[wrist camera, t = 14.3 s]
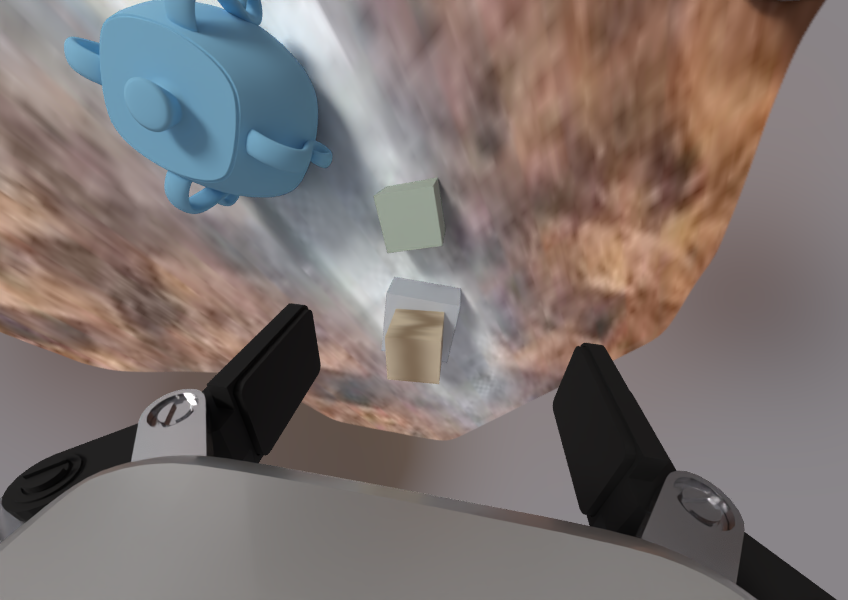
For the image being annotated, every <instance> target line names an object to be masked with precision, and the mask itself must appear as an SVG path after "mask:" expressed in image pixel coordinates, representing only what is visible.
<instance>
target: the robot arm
mask: <svg viewBox="0 0 848 600" xmlns="http://www.w3.org/2000/svg"><path fill="white" fill-rule="evenodd" d="M778 1H799V0H778ZM320 366H321V365H320V358H319V351H318V345H317V339H316V332H315V326H314V320H313V314H312V311H311V310H308V307H307V306H306V305H299V304H292V303H291V304H288V305H287V306H286V307H285V308H284V309H283V310H282V311H281V312H280V313H279V314H278V315H277V316H276V317H275V318H274V319H273V320H272V321H271V322H270V323H269V324H268V325H267V326H266V327H265V328H264V329H263V330H262V331H261V332H260V333H259V334H258V335H256V336H255V337H254V338H253V339H252V340H251V341H250V342H249V343H248V344H247V345H246V346H245V347H244V348H243V349H242V350H241V351H240V352H239V353H238V354H237V355H236V356H235V357H234V358H233V359H232V360H231V361H230V362H229V363H228V364H227V365H226V366H225V367H224V368H223V369H222V370H221V371H220V372H219V373H218V374H217V375H216V376H215V377H214V378H213V379H212V380H211V381H210V382H209V383H208V384H207V387H206V388H205V389H204V390H203V391H202V392H201V391H199V390H195V389H184V390H179V391H174V392H172V393H169V394H167V395H165V396H163V397H161V398H159V399H157V400H156V401H154V402H153V403H152V404H151V405H149V406H148V407H147V408H146V410H145V411H144V412H143V413H142V415H141V417H140V419H139V423H138V424H135V425H133V426H130V427H127V428H125V429H122V430H119V431H117V432H114V433H111V434H109V435H106V436H103V437H100V438H98V439H95V440H92V441H90V442H87V443H85V444H82V445H79V446H76V447H74V448H71V449H68V450H66V451H63V452H61V453H58V454H55V455H53V456H51V457H49V458H46V459H44V460H42V461H40V462H39V463H37V464H35V465H34V466H32V467H30V468H29V469H28V470H26V471H25V472H24V473H22V474H21V475H20V476H19V477H17V478H16V479H15V480H14V482H13V483H12V484H11V485H10V486H9V487H8V488H7V490H6V491H5V493H4V495H3V497H1V498H0V600H836V599H835V598H834V597H832V596H831V595H830V594H828V593H827V592H825V591H824V590H823V589H821V588H820V587H819V586H817V585H816V584H815V583H813V582H812V581H811V580H809V579H808V578H806V577H805V576H804V575H802V574H801V573H800V572H798V571H797V570H796V569H794V568H793V567H791V566H790V565H789V564H787V563H786V562H785V561H783V560H782V559H780V558H779V557H778V556H777V555H775V554H774V553H772V552H771V551H770V550H768V549H767V548H766V547H764V546H763V545H762V544H760V543H759V542H757V541H756V540H755V539H753V538H752V537H751V536H749V535H748V534H747V533H745V532H744V521H743V519H742V517H741V514H740V512H739V510H738V509H737V508H736V506H735V505H734V504H733V503H732V501H731V500H730V499H729V498H728V497H727V496H726V495H725V494H724V493H723V492H722V491H721V490H720V489H719V488H717V487H716V486H715V485H713V484H712V483H710V482H709V481H707V480H705V479H703V478H702V477H700V476H698V475H695V474H693V473H690V472H687V471H676V469H675V467H674V466H673V464H672V462H671V460H670V459H669V457H668V455H667V453H666V452H665V450H664V448H663V446H662V445H661V443H660V441H659V440H658V438H657V436H656V435H655V432H654V431H653V429H652V427H651V426H650V424H649V422H648V420H647V419H646V417H645V415H644V413H643V412H642V410H641V408H640V406H639V405H638V403H637V401H636V400H635V398H634V396H633V394H632V393H631V392H630V391H629V389H628V387H627V385H626V383H625V382H624V380H623V378H622V376H621V375H620V373H619V371H618V369H617V368H616V366H615V364H614V362H613V361H612V359H611V357H610V355H609V354H608V352H607V350H606V348H605V347H604V346H603V345H598V344H590V343H583V344H582V345H581V347H580V346H577V347H576V348H575V350H574V352H573V355H572V357H571V359H570V362H569V364H568V367H567V369H566V371H565V374H564V376H563V379H562V381H561V383H560V386H559V388H558V391H557V393H556V396H555V398H554V401H553V411H554V415H555V419H556V423H557V426H558V430H559V434H560V437H561V441H562V445H563V448H564V452H565V455H566V459H567V463H568V467H569V471H570V474H571V478H572V482H573V485H574V489H575V493H576V496H577V500H578V504H579V508H580V510H581V512H582V513H583V514H585V515H587V518H588V522H589V525H590V526H586V525H582V524H577V523H572V522H567V521H562V520H558V519H553V518H548V517H543V516H538V515H533V514H527V513H523V512H517V511H512V510H507V509H502V508H496V507H492V506H486V505H481V504H476V503H470V502H465V501H461V500H455V499H450V498H444V497H439V496H434V495H429V494H423V493H418V492H413V491H407V490H402V489H397V488H391V487H386V486H380V485H375V484H370V483H365V482H359V481H354V480H348V479H343V478H337V477H331V476H326V475H321V474H315V473H310V472H304V471H299V470H293V469H288V468H282V467H277V466H271V465H265V464H259V462H260V460H261V458H262V457H263V455H268V454H269V453H270V451H271V450H272V448H273V446H274V445H275V443H276V442H277V440H278V439H279V437H280V435H281V434H282V432H283V430H284V429H285V427H286V426H287V424H288V422H289V421H290V419H291V417H292V416H293V414H294V413H295V411H296V409H297V408H298V406H299V404H300V403H301V401H302V400H303V398H304V396H305V395H306V393H307V392H308V390H309V388H310V387H311V385H312V384H313V382H314V380H315V379H316V377H317V375H318V374H319V371H320Z"/></svg>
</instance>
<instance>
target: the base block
mask: <svg viewBox="0 0 848 600" xmlns="http://www.w3.org/2000/svg"><path fill="white" fill-rule="evenodd" d="M460 294H461V288H455V287H449V286H444V285H438V284H433V283H427V282H421V281H416V280H410V279H404V278H399V277H394V279H393V281H392V283H391V285H390V287H389V289H388V291H387V294H386V305H385V317H384V328H383V340H382V351H386V349H385V336H386V333H387V330H388V328H389V325H390V323H391V320H392V317H393V315H394V312H395V310H396V309H408V310H422V311H437V312H444V329H443V349H442V360H441V362H445V363H447V361H448V357H449V352H450V348H451V344H452V339H453V335H454V331H455V327H456V322H457V318H458V314H459V309H460Z"/></svg>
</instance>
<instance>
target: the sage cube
mask: <svg viewBox="0 0 848 600" xmlns="http://www.w3.org/2000/svg"><path fill="white" fill-rule="evenodd" d="M373 197H374V201H375V205H376V209H377V213H378V217H379V221H380V225H381V229H382V233H383V237H384V241H385V245H386V249H387V253H393V252H400V251H408V250H415V249H423V248H430V247H438V246H443V240H444V235H445V223H444V216H443V210H442V203H441V196H440V189H439V182H438V178H432V179H427V180H421V181H415V182H410V183H404V184H399V185H393V186H387V187H385V188H384V189H383V190H381V191H380V192H378V193H377V194H376V195H374V196H373Z"/></svg>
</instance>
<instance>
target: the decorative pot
mask: <svg viewBox="0 0 848 600" xmlns="http://www.w3.org/2000/svg"><path fill="white" fill-rule="evenodd" d="M218 1H219V3H220V4H221V5H222V6H223V8H224V9H222V8H219V7H216V6H212V5H208V4H203V3H198V2H195V0H152V1H148V2H143V3H140V4H137V5H134V6H131V7H128V8H125V9H123V10H120V11H118V12H117V13H115V14H114V15H112V16H111V17H109V18H108V19H107V20H106V21H105V22H104V24H103V26H102V29H101V34H100V43H97V42H94V41H91V40H87V39H83V38H79V37H68V38H67V39H66V41H65V44H64V51H65V56H66V59H67V62H68V63H69V65H70V66H71V67H72V69H74V70H75V71H76V72H77V73H79V74H80V75H82V76H84V77H85V78H87V79H89V80H91V81H93V82H95V83H98V84H100V85H102V88H103V94H104V99H105V104H106V108H107V111H108V114H109V117H110V119H111V122H112V123H113V125H114V127H115V129H116V130H117V131H118V133H119V134H120V135H121V136H122V137H123V139H124V140H125V141H126V142H127V143H128V144H129V145H131V146H132V147H133V148H134V149H135V150H137V151H138V152H139V153H141V154H142V155H143V156H145V157H146V158H148V159H149V160H151V161H152V162H154V163H156V164H157V165H159V166H161V167H163V168H164V169H166V170H168V172H167V174H166V178H165V184H164V185H165V193H166V195H167V198H168V199H169V201H170V202H171V203H172V204H173V205H174V206H175V207H176V208H178V209H180V210H182V211H184V212H186V213H190V214H198V213H202V212H204V211H206V210H208V209H210V208H211V207H213V206H214V205H216V204H217V203H218V204H220V205H223V206H231V205H233V204H234V203H235V202H236V201H237V200H238V198H239V196H247V197H275V196H281V195H284V194H287V193H289V192H291V191H292V190H294V189H295V188H296V187H297V186H298V185H299V184H300V182H301V181H302V180H303V178H304V176H305V173H306V171H307V169H308V166H309V164H310V161H311V162H312V163H314V164H315V165H317V166H319V167H322V168H327V167H328V166H329V165H330V164H331V162H332V152H331V151H330V150H329V149H328V148H327V147H326V146H325V145H323V144H322V143H320V142H318V141H316V135H317V126H318V104H317V97H316V93H315V90H314V87H313V85H312V82H311V80H310V78H309V76H308V75H307V73H306V72H305V70H304V68H303V67H302V66H301V65H300V63H299V62H298V61H297V60H296V59H295V57H294V56H293V55H292V54H291V53H290V52H289V51H288V50H287V49H286V48H285V47H284V46H283V45H282V44H281V43H280V42H279V41H278V40H277V39H276V38H274V37H273V36H272V35H271V34H269V33H268V32H267V31H265V30H264V29H263V28H261V27H260V26H259V25H260V23H261V21H262V5H261V0H218ZM192 182H195V183H197V184H200V185H202V186H205V187H206V188H204V189H203V190H201V191H199V192H198V193H196V194H195V195H193V196H191V197H189V189H190V186H191V183H192Z"/></svg>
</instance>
